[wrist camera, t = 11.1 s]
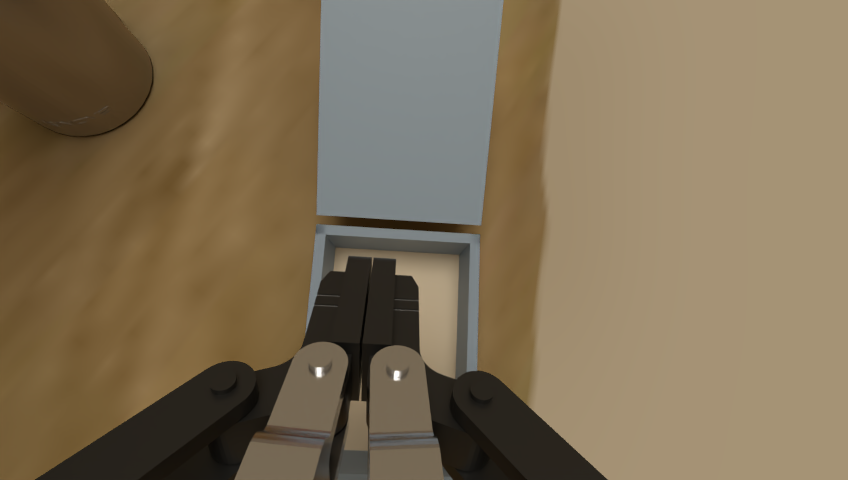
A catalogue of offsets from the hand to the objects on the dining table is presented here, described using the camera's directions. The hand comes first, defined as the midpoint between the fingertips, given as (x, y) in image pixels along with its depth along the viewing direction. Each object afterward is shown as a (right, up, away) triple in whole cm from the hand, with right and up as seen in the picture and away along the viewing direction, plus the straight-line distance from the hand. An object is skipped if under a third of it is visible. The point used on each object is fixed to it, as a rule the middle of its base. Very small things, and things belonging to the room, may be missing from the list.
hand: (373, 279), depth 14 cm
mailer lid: (+1, +9, +11) cm, 14 cm away
